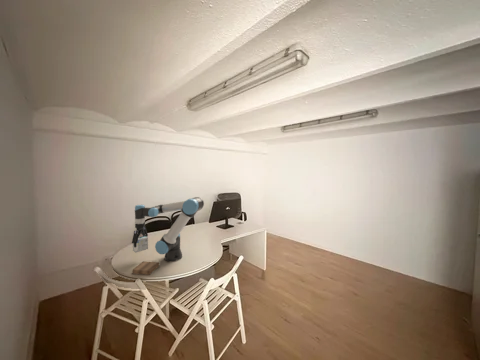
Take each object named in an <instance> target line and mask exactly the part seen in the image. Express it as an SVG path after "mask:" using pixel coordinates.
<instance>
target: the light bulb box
mask: <svg viewBox="0 0 480 360" xmlns="http://www.w3.org/2000/svg"><path fill="white" fill-rule="evenodd" d="M137 243H138V251H134V243H132V252H133V253H140V252H143V251H146V250H149V236H148V237H146V236H143V235H142V236H141V235H140V236H139V238H138V241H137Z"/></svg>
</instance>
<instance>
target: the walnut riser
mask: <svg viewBox="0 0 480 360" xmlns="http://www.w3.org/2000/svg"><path fill="white" fill-rule="evenodd" d="M159 267H160V262H158V261H157V262H156V261H145V260H144V261H142V262H140V263H138V265H136V266H135V267H134V268H133V269H132V271H131V272H132V274H133V275H136V274H137V275H147V276H148V275H149V276H150V275H151V274H152V273H153V272H154V271H156V270H157V269H158V268H159Z"/></svg>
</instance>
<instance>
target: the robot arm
mask: <svg viewBox="0 0 480 360" xmlns="http://www.w3.org/2000/svg"><path fill="white" fill-rule="evenodd" d="M204 206H205V202H204V200H203V198H201V197H200V196H195V197H192V198H188V199H186V200H184V201H177V202H176V201H175V202H171V203H164V204H159V205H155V206H151V207H146V206H145V204H137V205H135V206H134V226H135V227H134V228H135V230H134V231H133V235H132V239H131V240H132V241H131V243H132V244H133V243H134V251H138V243H137V241H138V238H139V237H140V236H141V235H142V236H146V237H148V238H149V234H148V231H147V226H146V218H147V217H149V218H155V217H157V216H158V215H160V214H165V213H170V212H171V213H172V212H178V211H180V214H179V215H178V217H177V218H176V220H175V221H174V223H173V224H172V225H171V227H170V228H169V229H168V231H167V232H166V233H164V234H163V235H162V237H161V238H160V239H159V240H157V242H156V243H155V244H154V248H155V251H156V252H157V253H158V254H159V255H164V260H165V261H167V262H176V261H180V260H181V259H182V258H183V252H182V249H181V232H182V230H183V229H184V228H185V227H186V226H187V223H189V220H191V218H194V217H195V216H196V214H197V213H198V212H199V211H201V210H202V209H203V208H204ZM134 251H133V252H134Z"/></svg>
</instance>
